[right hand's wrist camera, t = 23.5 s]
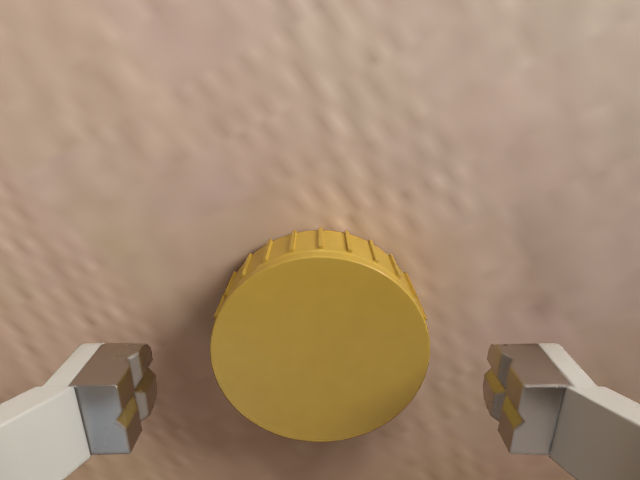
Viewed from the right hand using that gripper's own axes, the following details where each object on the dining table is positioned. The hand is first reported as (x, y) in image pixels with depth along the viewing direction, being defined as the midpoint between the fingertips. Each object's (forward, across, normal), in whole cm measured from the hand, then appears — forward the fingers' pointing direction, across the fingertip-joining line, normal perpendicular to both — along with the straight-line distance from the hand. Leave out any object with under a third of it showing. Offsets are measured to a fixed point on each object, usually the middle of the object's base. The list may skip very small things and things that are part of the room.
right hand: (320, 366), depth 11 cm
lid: (+1, 0, 0) cm, 1 cm away
